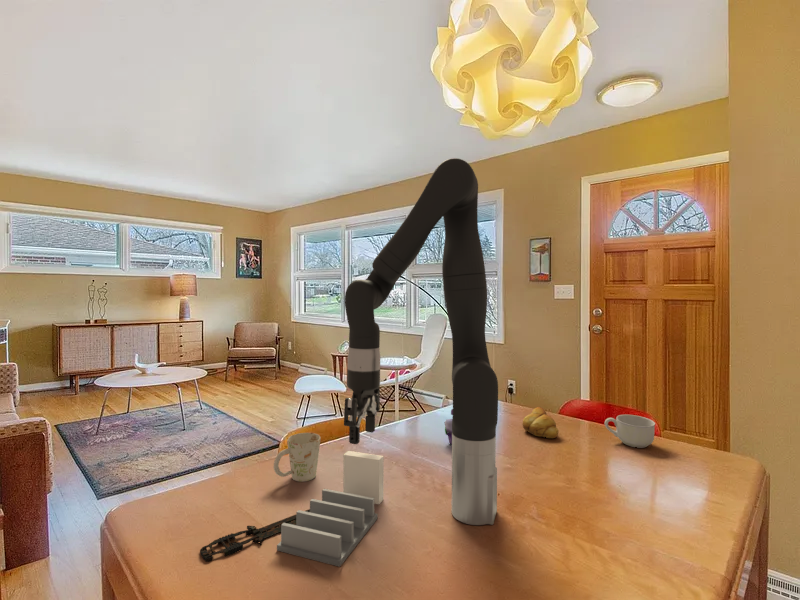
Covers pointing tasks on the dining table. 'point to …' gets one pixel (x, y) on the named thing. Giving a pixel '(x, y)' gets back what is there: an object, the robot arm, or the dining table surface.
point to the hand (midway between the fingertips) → (362, 437)
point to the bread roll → (540, 424)
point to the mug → (300, 456)
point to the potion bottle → (449, 428)
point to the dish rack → (329, 527)
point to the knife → (237, 546)
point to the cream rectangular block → (363, 475)
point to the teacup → (633, 430)
